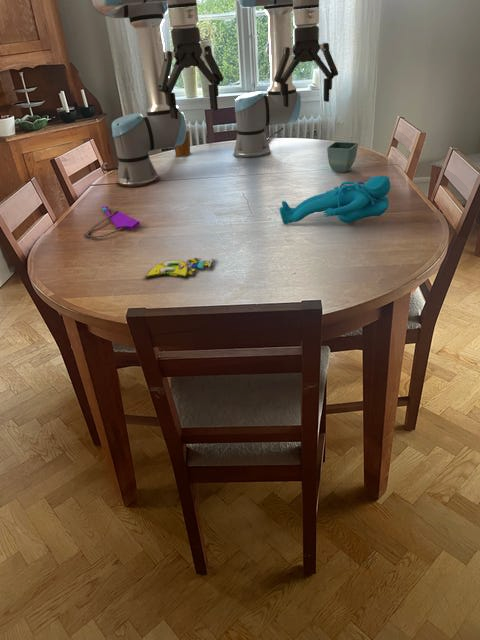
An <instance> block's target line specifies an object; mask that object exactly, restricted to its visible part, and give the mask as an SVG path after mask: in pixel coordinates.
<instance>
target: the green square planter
mask: <svg viewBox="0 0 480 640" xmlns="http://www.w3.org/2000/svg"><path fill="white" fill-rule="evenodd" d="M358 147H359V143H358V142H349V141H348V142H347V141H334V142H332V143H331V144H330V145H329V146H327V147H326V152H327V153H326V154H327V161H328V164H329V167H330V169H331V171H332V172H334V173H335V172H339V173H347V172H348V171H349V170H350V169H352V167H353V165H354V163H355V161H356V158H357V152H358Z"/></svg>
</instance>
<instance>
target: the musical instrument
mask: <svg viewBox="0 0 480 640" xmlns="http://www.w3.org/2000/svg"><path fill="white" fill-rule="evenodd" d="M100 207H101V209H102V212H103V213H105V214H106V216H107V217H106V218H105V219H103V220H101V221H100V222H98V223H97V224H95V225H94V226H92V227H91V228H90V229H89V230H88V231H87V232H86V233H85V234H86V235H85V236H86V237H87V238H93V239H94V238H96V239H97V238H103V237H107V236H110V235H112V234H116V233H117V232H119V231H122V230H134V229H136V228H137V227H138V226H140V225H141V223H140V220H137V219H136V218H133V217H132V216H130V215H127V214H125V213H124V212H121V211H118V210H116V211H114V212H113V213H111V212H110V210H109V206H107V205H101V206H100ZM106 220H110V221H111V222H112V223H113V225H114V226H115V228H117V229H116V230H114V231H112V232H109V233H107V234H102V235H89V234H90V232H92V230H94V229H95V228H96V227H98V226H100V225H101V224H102V223H103V222H105V221H106Z"/></svg>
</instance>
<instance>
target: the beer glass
mask: <svg viewBox="0 0 480 640" xmlns="http://www.w3.org/2000/svg"><path fill="white" fill-rule="evenodd" d="M173 149H174V152H175V156H176V157H186V156H189V155H190V154H191V126H190V124H188V123H186V138H185V141H184V143H183V144H182V145H179V146H174V147H173Z"/></svg>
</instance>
